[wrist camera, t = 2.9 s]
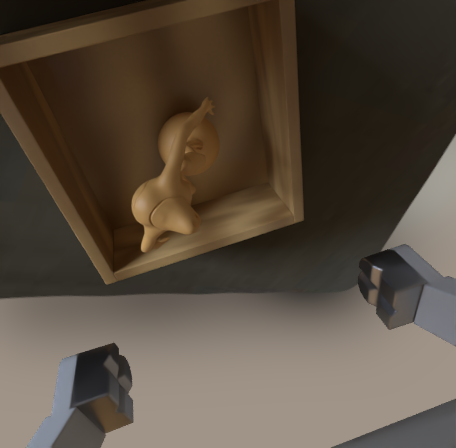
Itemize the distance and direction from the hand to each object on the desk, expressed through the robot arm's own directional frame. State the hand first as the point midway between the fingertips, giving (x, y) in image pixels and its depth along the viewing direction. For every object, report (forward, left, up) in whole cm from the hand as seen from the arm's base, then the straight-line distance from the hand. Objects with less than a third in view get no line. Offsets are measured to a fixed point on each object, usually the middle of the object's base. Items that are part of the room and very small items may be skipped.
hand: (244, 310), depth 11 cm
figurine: (0, 0, -16) cm, 16 cm away
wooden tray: (0, 0, -16) cm, 16 cm away
